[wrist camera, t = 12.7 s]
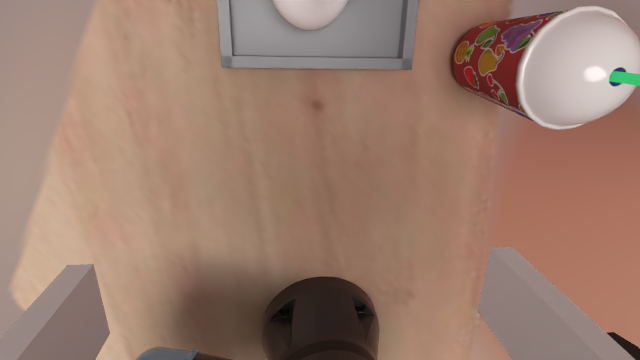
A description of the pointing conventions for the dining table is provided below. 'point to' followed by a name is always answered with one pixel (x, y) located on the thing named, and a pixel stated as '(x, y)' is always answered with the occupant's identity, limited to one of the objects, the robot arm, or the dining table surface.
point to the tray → (318, 36)
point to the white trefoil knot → (310, 12)
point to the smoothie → (552, 65)
